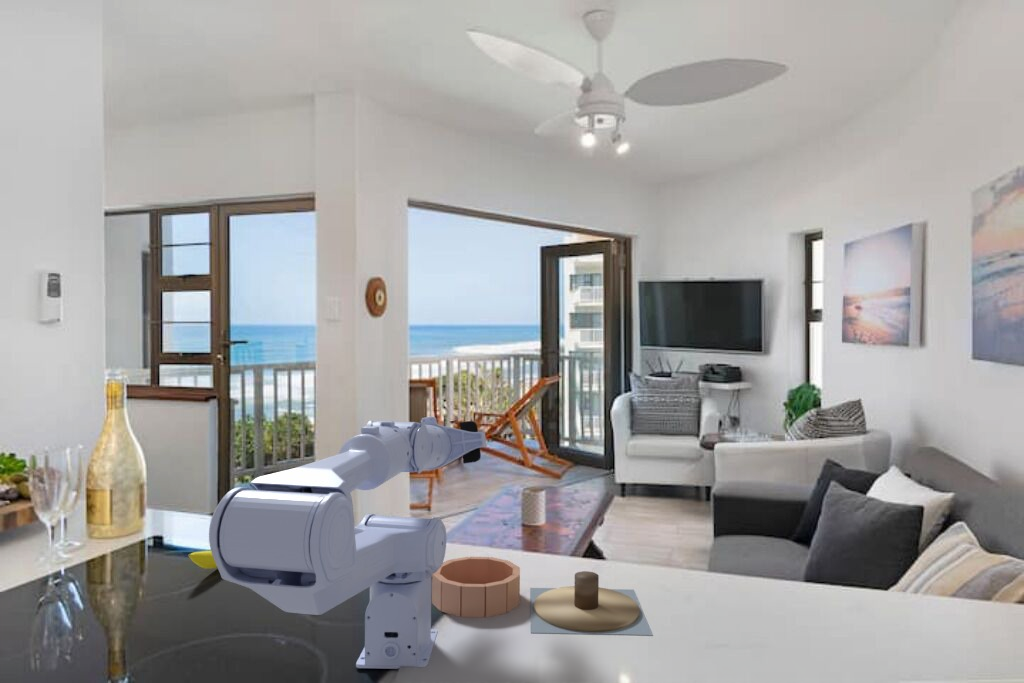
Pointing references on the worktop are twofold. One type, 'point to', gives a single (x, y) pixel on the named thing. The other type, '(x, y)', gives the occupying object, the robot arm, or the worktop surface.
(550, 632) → the rubber mat
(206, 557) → the banana
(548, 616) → the oak lid
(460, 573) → the terracotta bowl
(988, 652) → the worktop surface
